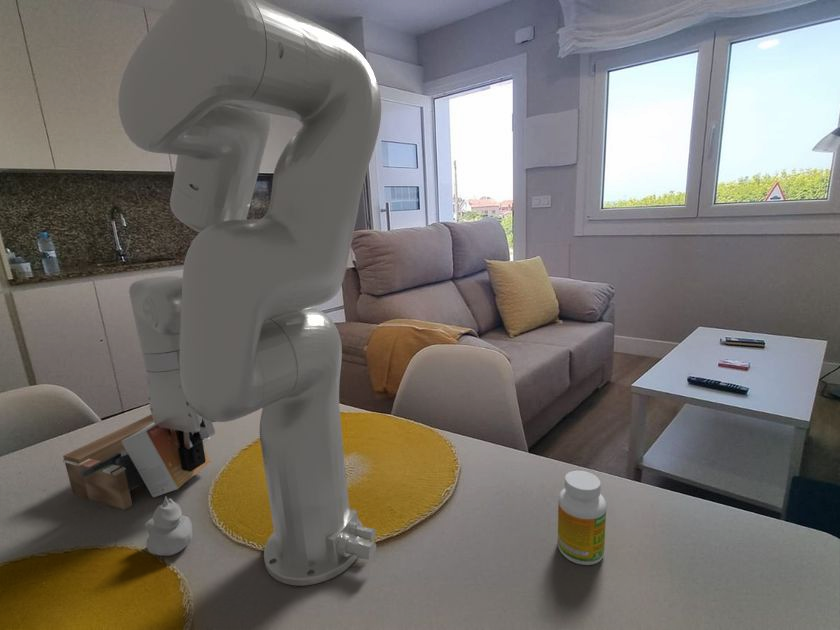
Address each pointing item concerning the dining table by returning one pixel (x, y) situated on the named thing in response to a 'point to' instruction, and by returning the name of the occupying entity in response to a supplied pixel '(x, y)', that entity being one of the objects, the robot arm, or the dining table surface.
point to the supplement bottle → (581, 518)
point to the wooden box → (109, 479)
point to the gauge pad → (119, 460)
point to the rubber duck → (168, 529)
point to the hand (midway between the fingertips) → (194, 466)
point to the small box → (158, 459)
